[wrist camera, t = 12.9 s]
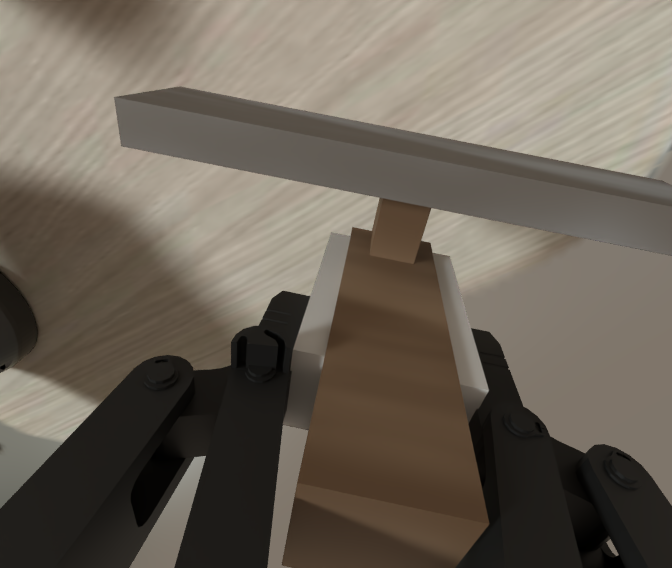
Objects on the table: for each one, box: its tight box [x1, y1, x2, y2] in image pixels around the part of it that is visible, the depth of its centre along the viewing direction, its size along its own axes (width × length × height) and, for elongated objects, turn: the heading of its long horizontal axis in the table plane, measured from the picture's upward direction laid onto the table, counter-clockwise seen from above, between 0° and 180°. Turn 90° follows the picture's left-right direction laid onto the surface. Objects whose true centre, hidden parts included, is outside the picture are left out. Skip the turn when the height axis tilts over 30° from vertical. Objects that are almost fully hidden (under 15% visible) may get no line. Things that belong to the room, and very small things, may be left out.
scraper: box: [114, 87, 672, 568], centre depth 10 cm, size 7×16×10 cm, turn 81°
